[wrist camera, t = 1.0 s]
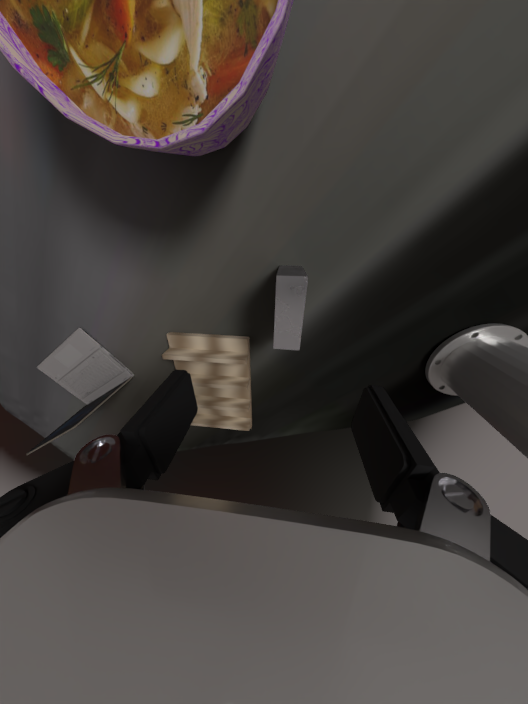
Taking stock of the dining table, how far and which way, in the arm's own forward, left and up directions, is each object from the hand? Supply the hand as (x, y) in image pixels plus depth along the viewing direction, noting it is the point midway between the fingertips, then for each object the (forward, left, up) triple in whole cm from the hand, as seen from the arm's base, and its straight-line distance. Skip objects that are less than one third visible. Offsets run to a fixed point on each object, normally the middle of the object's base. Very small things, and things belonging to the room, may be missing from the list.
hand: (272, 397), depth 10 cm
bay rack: (+12, +17, -21) cm, 29 cm away
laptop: (+40, +16, -21) cm, 48 cm away
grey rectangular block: (-1, -1, -21) cm, 21 cm away
